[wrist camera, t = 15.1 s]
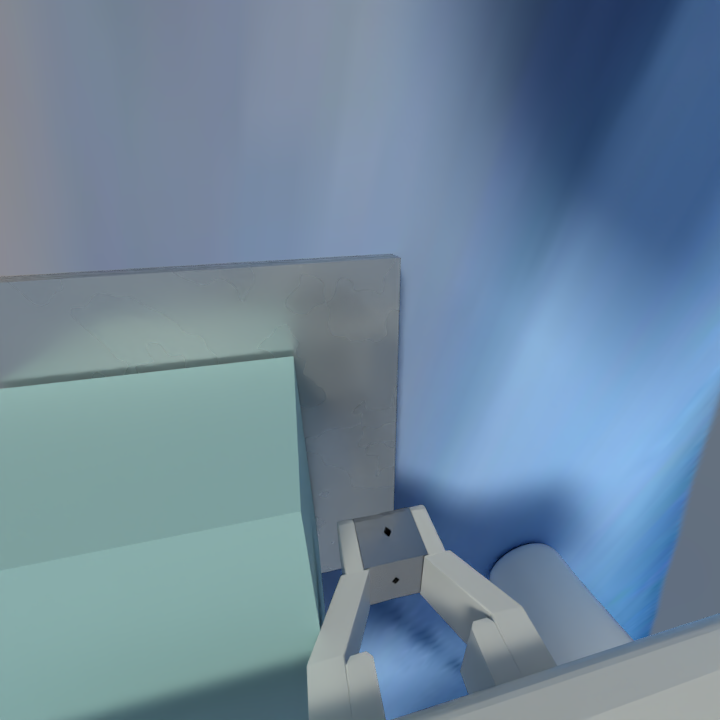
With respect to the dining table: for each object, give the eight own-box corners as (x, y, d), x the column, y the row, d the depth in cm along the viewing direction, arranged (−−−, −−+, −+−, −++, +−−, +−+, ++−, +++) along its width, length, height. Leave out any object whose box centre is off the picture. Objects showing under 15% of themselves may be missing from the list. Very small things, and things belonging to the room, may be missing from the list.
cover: (318, 542, 15) (336, 733, 10) (111, 586, 14) (-8, 845, 8) (293, 356, 11) (300, 511, 5) (-16, 390, 9) (-466, 662, 4)
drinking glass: (539, 585, 25) (824, 1010, 12) (464, 597, 23) (698, 1109, 10) (576, 527, 22) (1000, 993, 9) (493, 535, 21) (867, 1126, 7)
